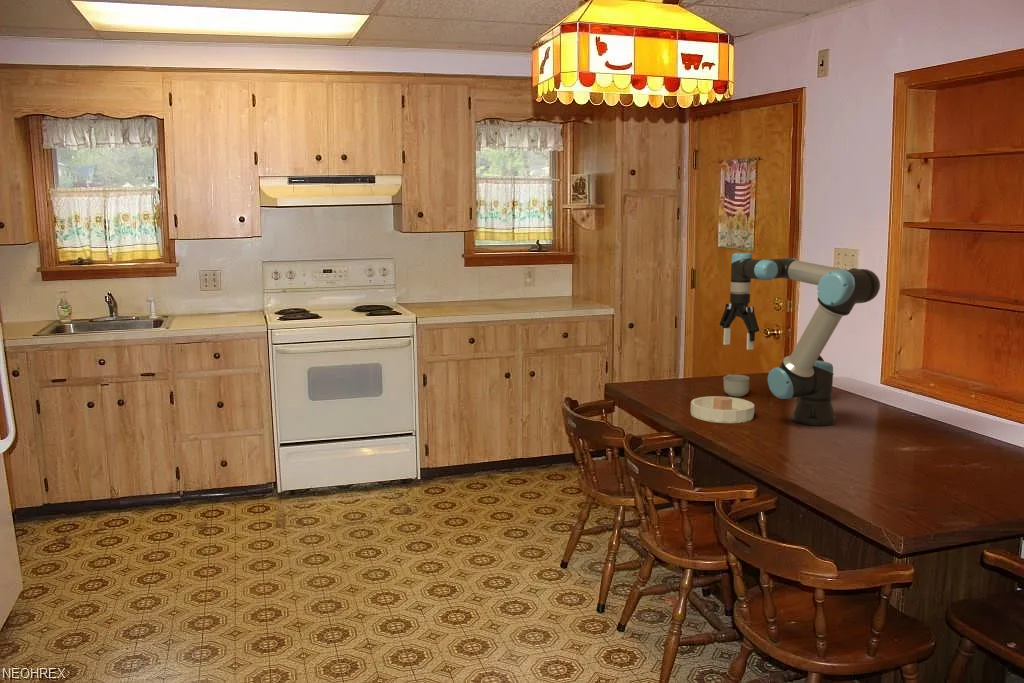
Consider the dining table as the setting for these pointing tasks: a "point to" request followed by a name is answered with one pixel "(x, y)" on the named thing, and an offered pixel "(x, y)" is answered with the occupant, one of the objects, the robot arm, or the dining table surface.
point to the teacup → (736, 385)
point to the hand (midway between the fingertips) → (738, 346)
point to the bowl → (738, 414)
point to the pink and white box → (722, 403)
